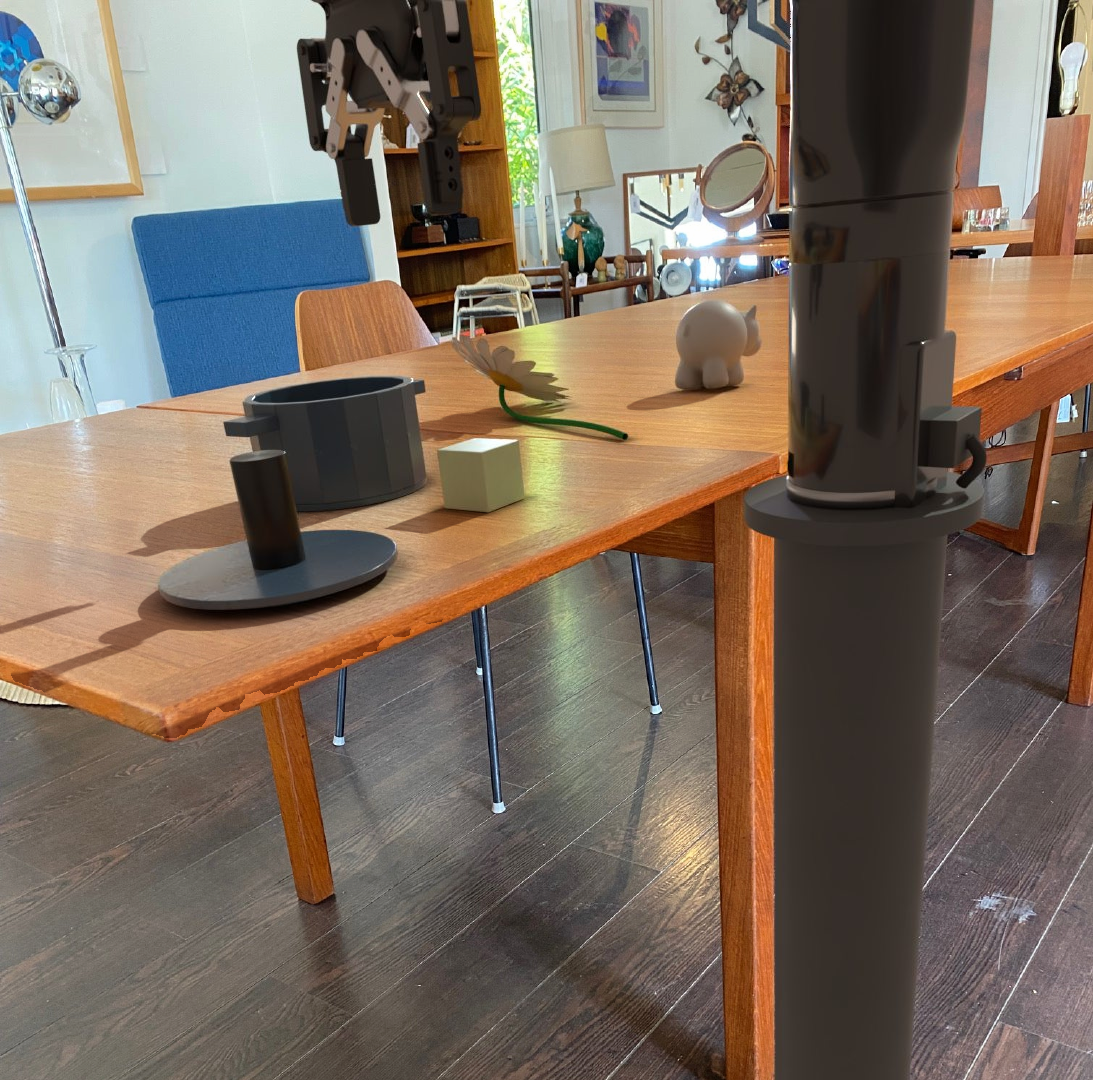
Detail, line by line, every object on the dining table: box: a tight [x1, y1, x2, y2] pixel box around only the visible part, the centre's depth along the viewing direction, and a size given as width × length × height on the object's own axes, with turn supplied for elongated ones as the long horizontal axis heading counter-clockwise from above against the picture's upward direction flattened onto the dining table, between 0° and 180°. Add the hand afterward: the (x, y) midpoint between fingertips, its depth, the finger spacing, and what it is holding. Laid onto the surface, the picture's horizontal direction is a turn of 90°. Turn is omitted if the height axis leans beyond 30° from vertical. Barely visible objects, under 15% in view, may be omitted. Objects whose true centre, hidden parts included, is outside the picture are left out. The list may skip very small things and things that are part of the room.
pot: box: [222, 375, 428, 512], centre depth 80 cm, size 12×18×8 cm
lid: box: [157, 450, 399, 611], centre depth 60 cm, size 13×13×7 cm
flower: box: [451, 334, 629, 441], centre depth 101 cm, size 13×6×30 cm
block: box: [436, 437, 526, 513], centre depth 73 cm, size 4×4×4 cm
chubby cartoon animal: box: [674, 299, 763, 391], centre depth 110 cm, size 7×12×8 cm, turn 134°
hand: (402, 220), depth 65 cm, fingers open, 8 cm apart
